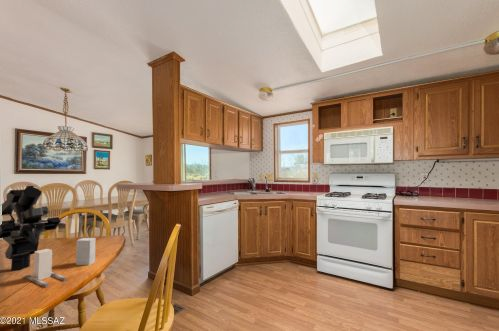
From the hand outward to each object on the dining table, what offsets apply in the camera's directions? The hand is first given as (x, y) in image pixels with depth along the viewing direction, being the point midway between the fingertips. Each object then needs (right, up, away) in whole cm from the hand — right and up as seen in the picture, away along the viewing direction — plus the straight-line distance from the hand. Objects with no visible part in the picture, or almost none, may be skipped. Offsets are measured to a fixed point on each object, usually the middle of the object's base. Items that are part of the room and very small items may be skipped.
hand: (36, 243), depth 93 cm
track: (+7, -13, -4) cm, 16 cm away
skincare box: (+12, -14, +11) cm, 21 cm away
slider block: (+5, -12, -3) cm, 13 cm away
